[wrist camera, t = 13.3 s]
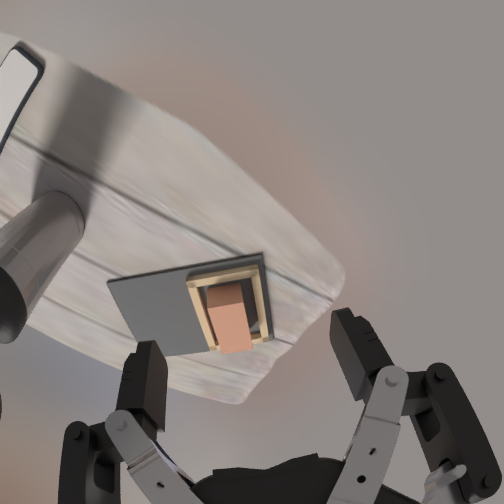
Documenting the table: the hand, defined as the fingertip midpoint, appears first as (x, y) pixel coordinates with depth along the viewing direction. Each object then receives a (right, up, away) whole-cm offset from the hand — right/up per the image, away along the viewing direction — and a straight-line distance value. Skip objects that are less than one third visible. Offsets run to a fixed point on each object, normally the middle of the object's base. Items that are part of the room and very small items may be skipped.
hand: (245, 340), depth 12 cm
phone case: (-35, +25, +11) cm, 44 cm away
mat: (-9, -6, +32) cm, 34 cm away
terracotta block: (-3, -5, +32) cm, 33 cm away
